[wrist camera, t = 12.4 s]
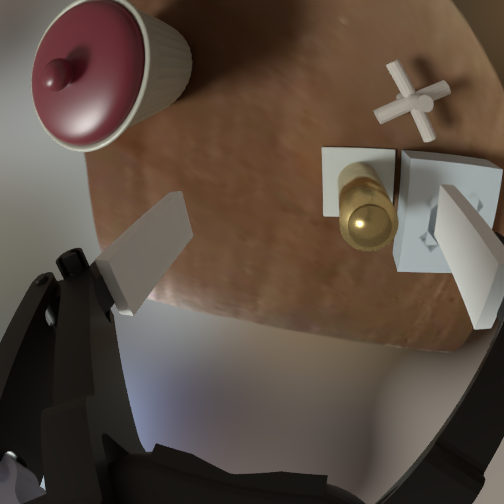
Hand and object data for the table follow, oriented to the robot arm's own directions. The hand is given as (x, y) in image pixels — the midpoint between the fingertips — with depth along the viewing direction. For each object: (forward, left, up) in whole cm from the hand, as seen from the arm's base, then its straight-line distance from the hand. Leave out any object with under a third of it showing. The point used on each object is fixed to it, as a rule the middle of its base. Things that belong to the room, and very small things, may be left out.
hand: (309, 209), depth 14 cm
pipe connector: (-5, +11, -27) cm, 30 cm away
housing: (+10, +18, -27) cm, 34 cm away
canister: (-12, -23, -28) cm, 37 cm away
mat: (+7, +5, -27) cm, 29 cm away
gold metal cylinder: (+7, +5, -27) cm, 28 cm away
